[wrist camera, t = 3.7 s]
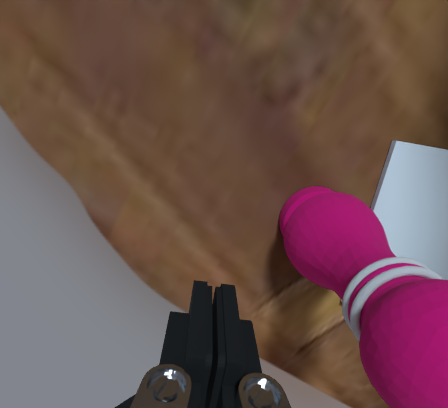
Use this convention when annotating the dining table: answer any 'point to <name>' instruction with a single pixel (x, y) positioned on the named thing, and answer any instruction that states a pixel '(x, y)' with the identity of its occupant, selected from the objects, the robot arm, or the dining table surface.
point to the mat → (415, 204)
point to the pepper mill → (374, 294)
